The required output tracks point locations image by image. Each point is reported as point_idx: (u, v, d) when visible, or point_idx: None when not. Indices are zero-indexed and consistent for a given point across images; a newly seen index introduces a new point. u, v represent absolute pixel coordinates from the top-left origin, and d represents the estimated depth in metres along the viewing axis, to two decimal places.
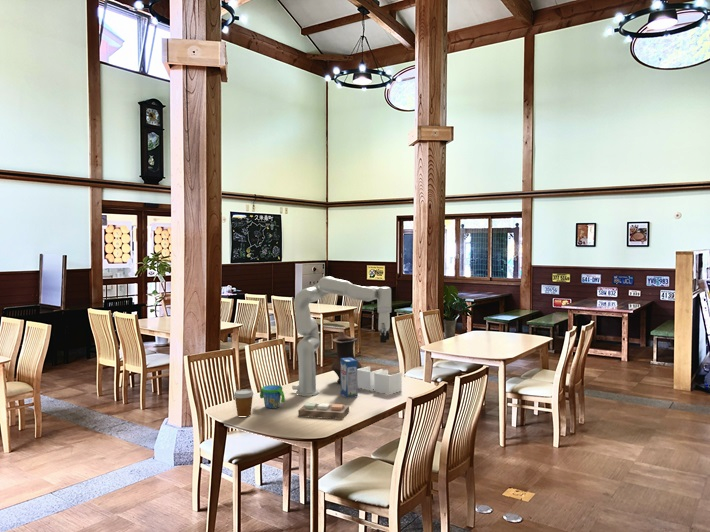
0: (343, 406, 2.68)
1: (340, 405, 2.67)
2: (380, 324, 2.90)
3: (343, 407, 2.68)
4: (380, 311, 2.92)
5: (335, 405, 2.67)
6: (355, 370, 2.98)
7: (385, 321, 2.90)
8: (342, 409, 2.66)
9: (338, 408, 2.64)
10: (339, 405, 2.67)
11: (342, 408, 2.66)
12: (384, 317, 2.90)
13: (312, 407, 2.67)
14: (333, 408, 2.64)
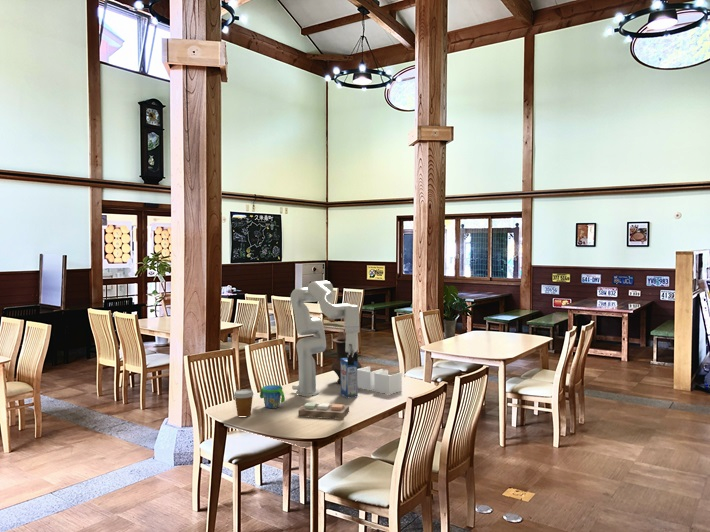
0: (343, 406, 2.68)
1: (340, 405, 2.67)
2: (347, 345, 2.70)
3: (343, 407, 2.68)
4: (347, 331, 2.71)
5: (335, 405, 2.67)
6: (355, 370, 2.98)
7: (352, 342, 2.69)
8: (342, 409, 2.66)
9: (338, 408, 2.64)
10: (339, 405, 2.67)
11: (342, 408, 2.66)
12: (351, 338, 2.69)
13: (312, 407, 2.67)
14: (333, 408, 2.64)
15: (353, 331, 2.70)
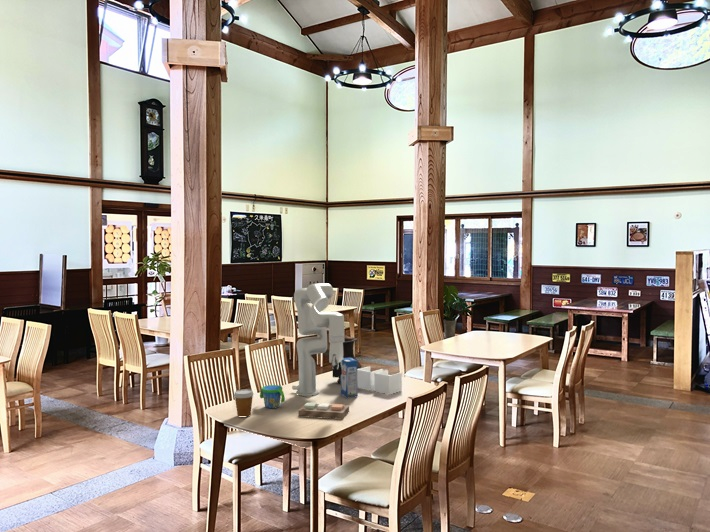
0: (343, 406, 2.68)
1: (340, 405, 2.67)
2: (331, 355, 2.61)
3: (343, 407, 2.68)
4: (331, 341, 2.63)
5: (335, 405, 2.67)
6: (355, 370, 2.98)
7: (336, 352, 2.61)
8: (342, 409, 2.66)
9: (338, 408, 2.64)
10: (339, 405, 2.67)
11: (342, 408, 2.66)
12: (335, 348, 2.61)
13: (312, 407, 2.67)
14: (333, 408, 2.64)
15: (337, 341, 2.62)
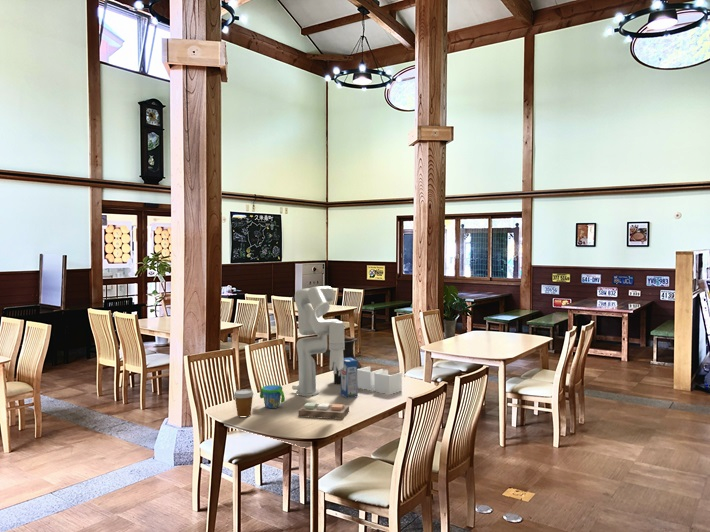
0: (343, 406, 2.68)
1: (340, 405, 2.67)
2: (331, 363, 2.61)
3: (343, 407, 2.68)
4: (331, 348, 2.63)
5: (335, 405, 2.67)
6: (355, 370, 2.98)
7: (337, 360, 2.61)
8: (342, 409, 2.66)
9: (338, 408, 2.64)
10: (339, 405, 2.67)
11: (342, 408, 2.66)
12: (336, 355, 2.61)
13: (312, 407, 2.67)
14: (333, 408, 2.64)
15: (337, 348, 2.62)
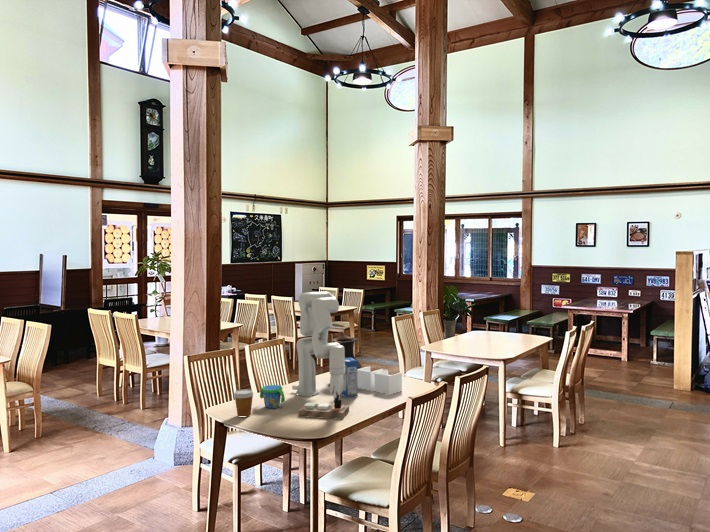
0: (343, 408, 2.68)
1: None
2: (331, 388, 2.62)
3: None
4: (332, 373, 2.63)
5: None
6: (355, 370, 2.98)
7: (337, 384, 2.61)
8: None
9: None
10: None
11: None
12: (336, 380, 2.61)
13: (312, 407, 2.67)
14: None
15: (338, 373, 2.62)
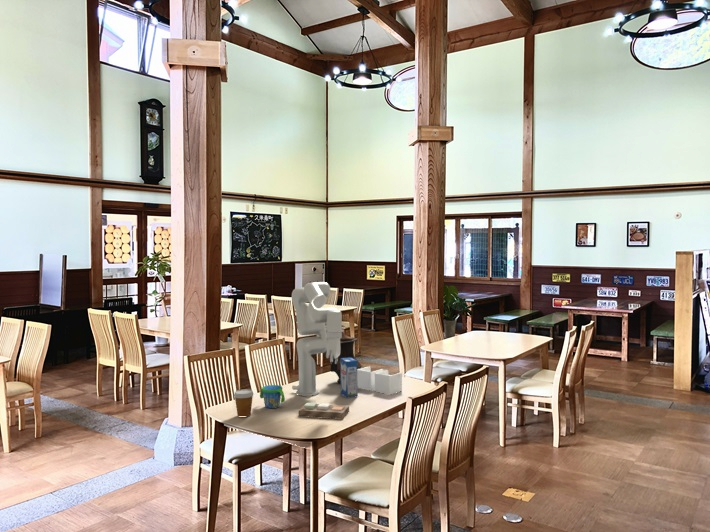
0: (343, 408, 2.68)
1: (340, 407, 2.67)
2: (328, 351, 2.65)
3: None
4: (329, 337, 2.67)
5: (335, 407, 2.67)
6: (355, 370, 2.98)
7: (333, 348, 2.65)
8: None
9: None
10: (339, 407, 2.67)
11: None
12: (332, 344, 2.65)
13: (312, 407, 2.67)
14: None
15: (334, 337, 2.66)
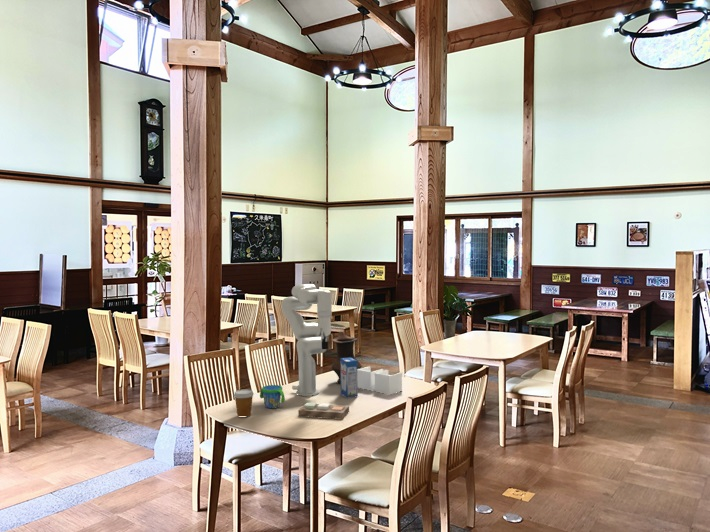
0: (343, 408, 2.68)
1: (340, 407, 2.67)
2: (319, 329, 2.80)
3: None
4: (319, 316, 2.81)
5: (335, 407, 2.67)
6: (355, 370, 2.98)
7: (324, 326, 2.79)
8: None
9: None
10: (339, 407, 2.67)
11: None
12: (323, 322, 2.80)
13: (312, 407, 2.67)
14: None
15: (325, 316, 2.81)
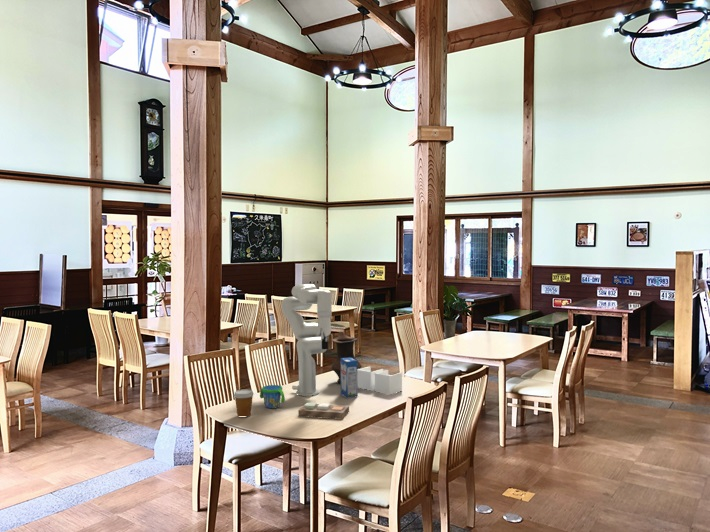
0: (343, 408, 2.68)
1: (340, 407, 2.67)
2: (319, 329, 2.80)
3: None
4: (319, 316, 2.81)
5: (335, 407, 2.67)
6: (355, 370, 2.98)
7: (324, 326, 2.79)
8: None
9: None
10: (339, 407, 2.67)
11: None
12: (323, 322, 2.80)
13: (312, 407, 2.67)
14: None
15: (325, 316, 2.81)
